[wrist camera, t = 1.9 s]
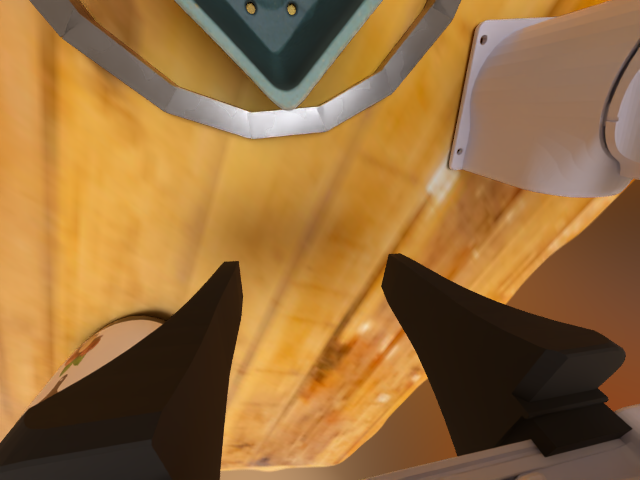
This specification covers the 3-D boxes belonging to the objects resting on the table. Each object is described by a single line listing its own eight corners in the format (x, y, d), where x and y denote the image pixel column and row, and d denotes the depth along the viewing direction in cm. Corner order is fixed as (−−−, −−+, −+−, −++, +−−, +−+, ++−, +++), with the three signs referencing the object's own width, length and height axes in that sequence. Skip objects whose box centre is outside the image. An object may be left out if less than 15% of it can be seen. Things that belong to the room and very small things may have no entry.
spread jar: (163, 295, 21) (70, 459, 11) (233, 359, 27) (212, 505, 17) (48, 347, 22) (-137, 549, 12) (141, 399, 28) (69, 564, 18)
